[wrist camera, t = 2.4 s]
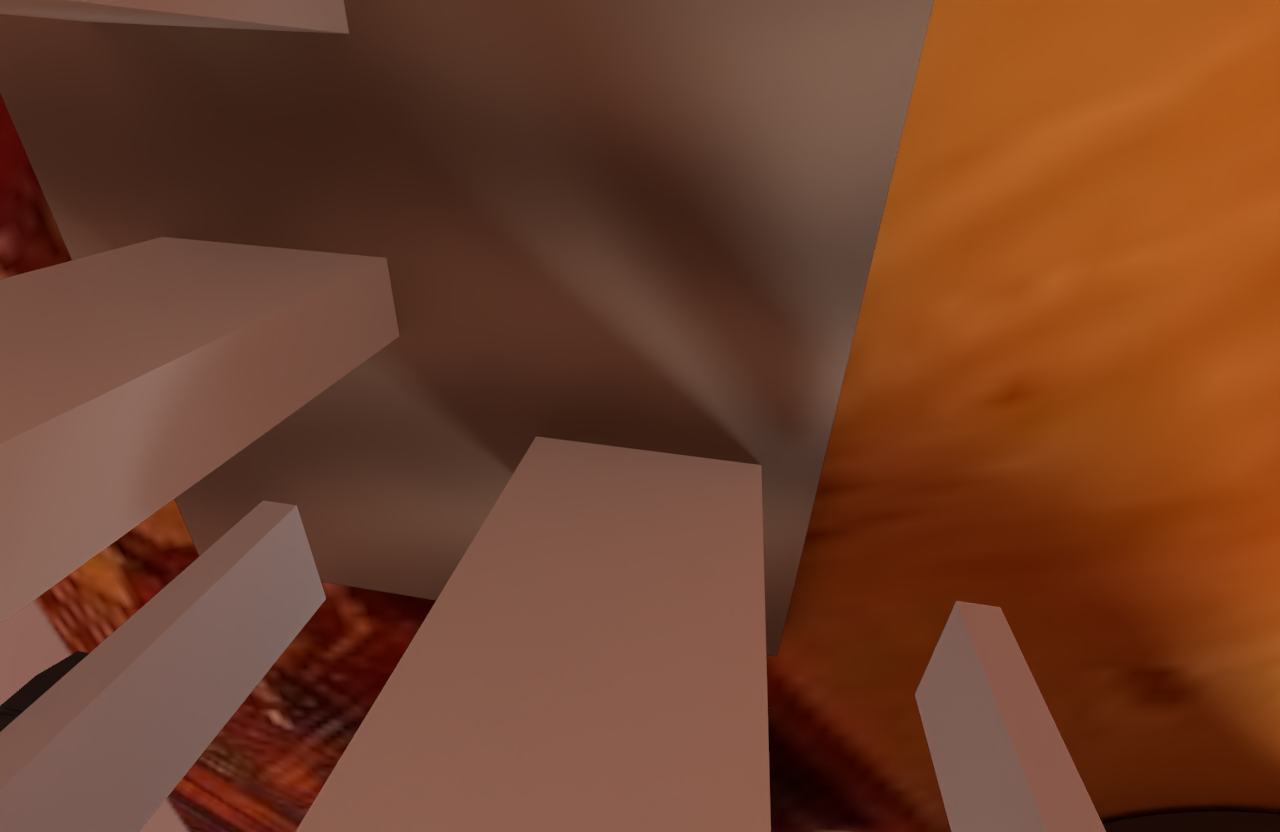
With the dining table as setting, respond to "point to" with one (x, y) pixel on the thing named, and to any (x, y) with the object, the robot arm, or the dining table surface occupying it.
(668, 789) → the loose domino
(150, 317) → the domino
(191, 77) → the walnut board
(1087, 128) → the dining table surface
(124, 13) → the domino
